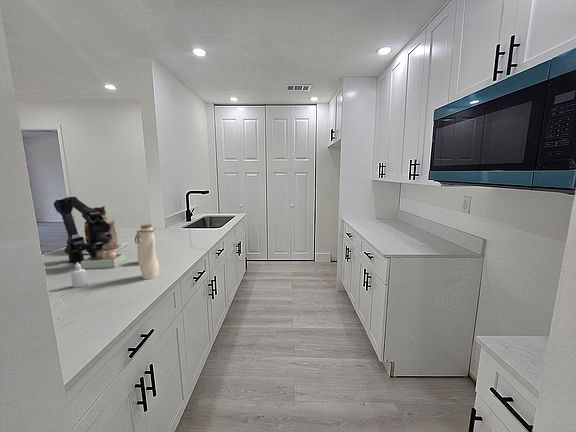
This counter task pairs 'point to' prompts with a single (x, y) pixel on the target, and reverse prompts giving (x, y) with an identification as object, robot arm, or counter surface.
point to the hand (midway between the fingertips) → (96, 256)
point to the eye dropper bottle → (79, 276)
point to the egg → (111, 255)
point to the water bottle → (147, 252)
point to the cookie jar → (113, 243)
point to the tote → (103, 262)
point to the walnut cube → (97, 255)
